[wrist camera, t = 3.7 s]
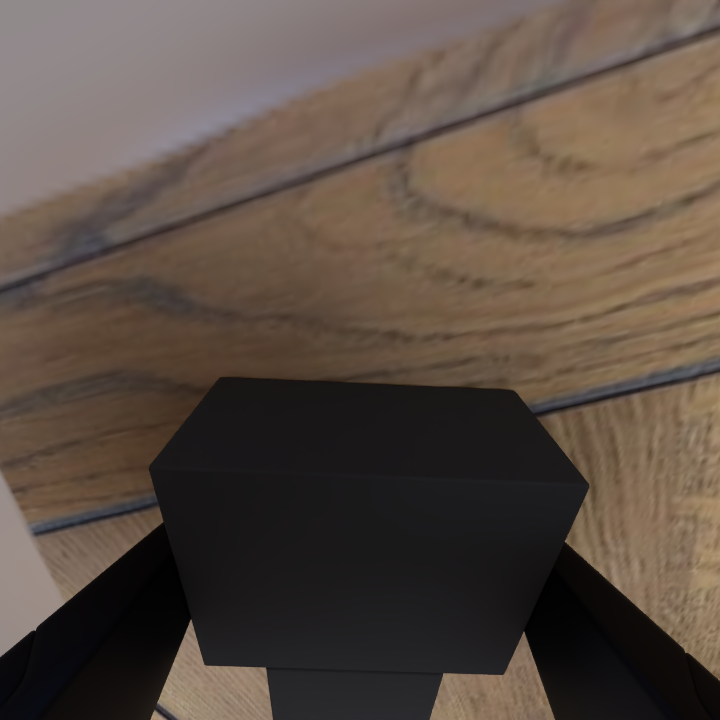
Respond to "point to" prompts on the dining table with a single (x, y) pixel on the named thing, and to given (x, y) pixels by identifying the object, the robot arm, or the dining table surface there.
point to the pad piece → (362, 536)
